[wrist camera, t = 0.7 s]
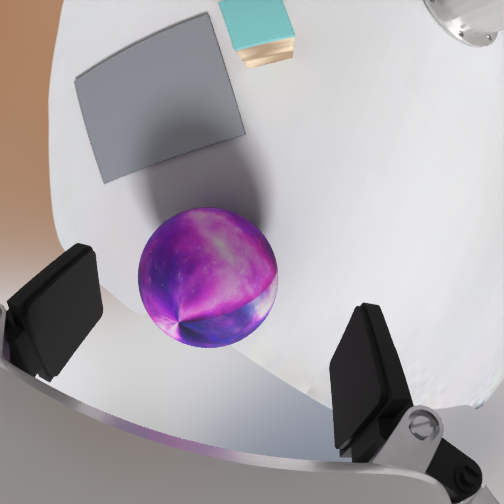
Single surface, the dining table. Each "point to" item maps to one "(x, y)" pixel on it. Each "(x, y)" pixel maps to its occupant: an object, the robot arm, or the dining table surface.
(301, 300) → the dining table surface
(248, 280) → the decorative orb
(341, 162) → the dining table surface
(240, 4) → the maple block
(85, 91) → the slate mat
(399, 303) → the dining table surface
